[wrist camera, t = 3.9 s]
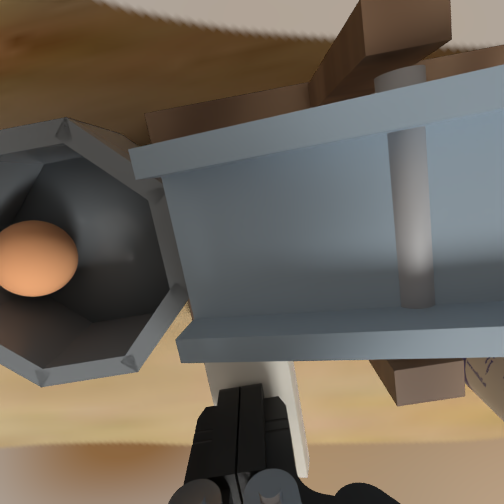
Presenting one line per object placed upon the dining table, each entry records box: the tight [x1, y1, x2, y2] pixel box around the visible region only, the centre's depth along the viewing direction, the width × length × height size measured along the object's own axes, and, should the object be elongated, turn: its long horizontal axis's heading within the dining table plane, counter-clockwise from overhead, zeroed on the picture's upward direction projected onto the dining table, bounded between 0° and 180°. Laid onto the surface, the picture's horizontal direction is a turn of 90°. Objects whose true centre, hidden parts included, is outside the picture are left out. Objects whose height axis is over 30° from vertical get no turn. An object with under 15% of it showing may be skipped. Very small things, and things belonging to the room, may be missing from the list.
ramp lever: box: [128, 64, 504, 478], centre depth 9 cm, size 14×13×5 cm
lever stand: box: [144, 0, 504, 406], centre depth 13 cm, size 17×11×9 cm, turn 100°
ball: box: [0, 220, 78, 297], centre depth 16 cm, size 4×4×4 cm
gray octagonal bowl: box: [0, 117, 189, 387], centre depth 15 cm, size 10×10×5 cm
